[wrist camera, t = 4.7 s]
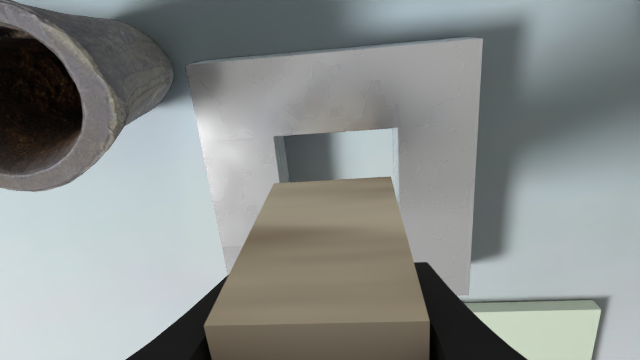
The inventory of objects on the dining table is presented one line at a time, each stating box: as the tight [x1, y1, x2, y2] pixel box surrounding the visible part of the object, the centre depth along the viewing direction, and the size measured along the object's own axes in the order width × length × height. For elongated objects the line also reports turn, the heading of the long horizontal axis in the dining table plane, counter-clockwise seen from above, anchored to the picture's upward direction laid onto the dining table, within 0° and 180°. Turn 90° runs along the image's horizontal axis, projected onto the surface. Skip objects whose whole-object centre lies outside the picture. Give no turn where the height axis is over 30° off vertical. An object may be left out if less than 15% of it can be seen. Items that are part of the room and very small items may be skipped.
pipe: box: [0, 0, 174, 192], centre depth 16 cm, size 6×13×8 cm, turn 89°
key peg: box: [204, 177, 430, 360], centre depth 11 cm, size 4×4×7 cm
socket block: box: [185, 37, 483, 295], centre depth 19 cm, size 12×12×2 cm
